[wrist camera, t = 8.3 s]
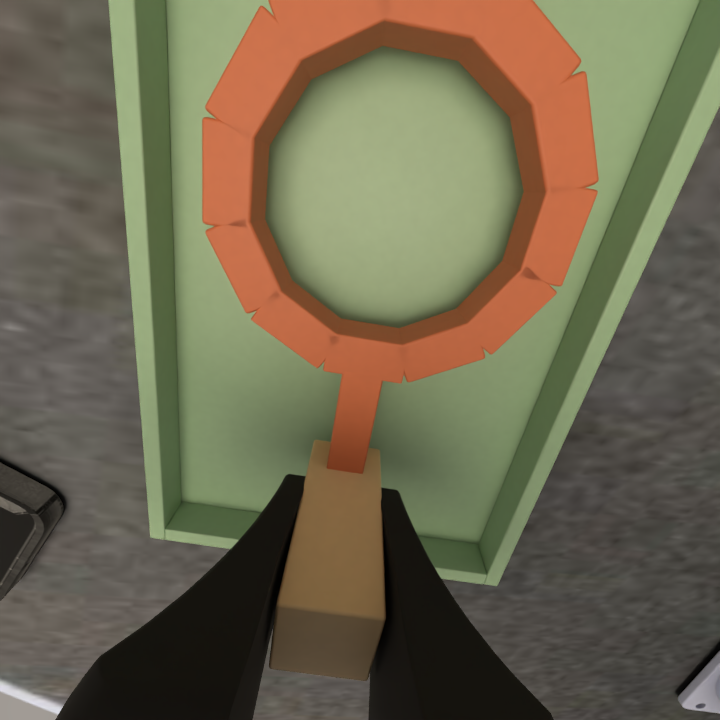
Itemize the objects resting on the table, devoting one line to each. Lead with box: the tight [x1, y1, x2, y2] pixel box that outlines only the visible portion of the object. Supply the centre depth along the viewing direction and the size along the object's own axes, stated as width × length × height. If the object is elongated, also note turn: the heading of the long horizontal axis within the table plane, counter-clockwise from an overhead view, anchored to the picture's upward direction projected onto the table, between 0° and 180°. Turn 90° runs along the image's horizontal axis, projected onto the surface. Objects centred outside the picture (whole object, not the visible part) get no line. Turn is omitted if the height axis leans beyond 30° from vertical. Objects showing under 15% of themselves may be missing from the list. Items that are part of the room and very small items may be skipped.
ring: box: [202, 0, 599, 681], centre depth 9 cm, size 9×15×6 cm, turn 170°
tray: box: [108, 0, 720, 586], centre depth 12 cm, size 14×21×2 cm
